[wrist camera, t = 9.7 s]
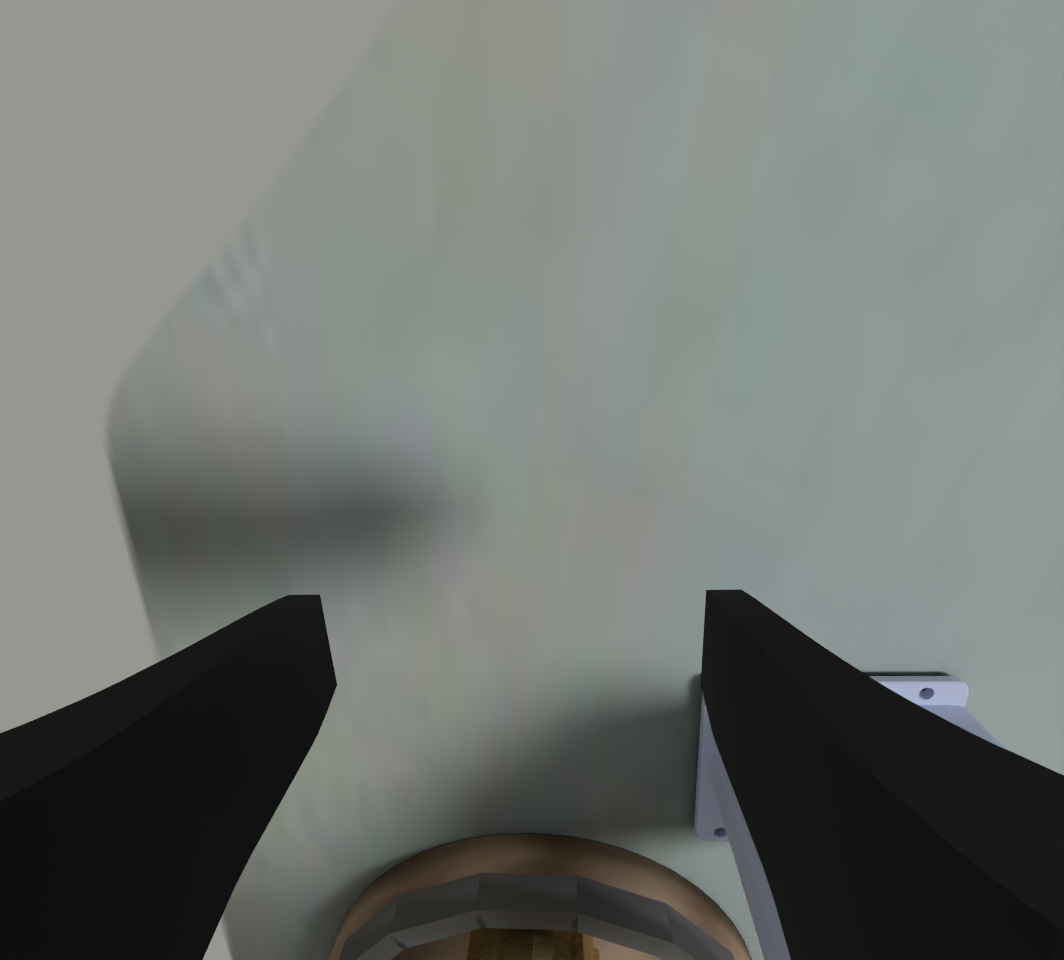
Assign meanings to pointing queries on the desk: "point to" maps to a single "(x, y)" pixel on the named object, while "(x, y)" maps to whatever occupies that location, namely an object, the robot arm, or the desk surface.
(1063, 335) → the desk surface
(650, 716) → the desk surface
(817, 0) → the desk surface
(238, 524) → the desk surface
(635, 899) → the gear carrier
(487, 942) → the planet gear
